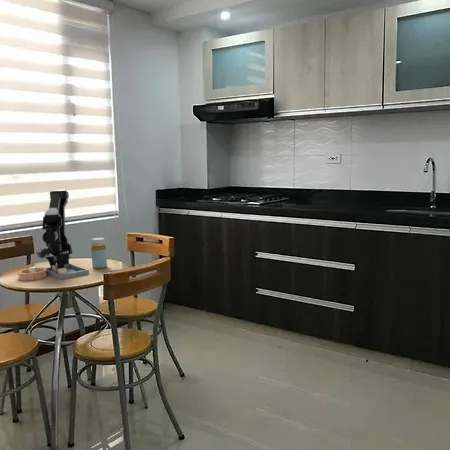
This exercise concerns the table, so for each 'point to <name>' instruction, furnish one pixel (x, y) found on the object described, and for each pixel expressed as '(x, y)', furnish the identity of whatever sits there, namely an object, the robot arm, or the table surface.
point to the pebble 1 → (33, 269)
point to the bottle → (98, 253)
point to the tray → (68, 272)
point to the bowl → (32, 274)
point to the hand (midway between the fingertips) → (56, 272)
